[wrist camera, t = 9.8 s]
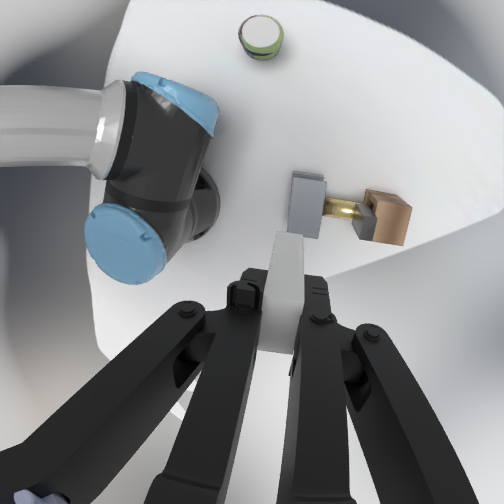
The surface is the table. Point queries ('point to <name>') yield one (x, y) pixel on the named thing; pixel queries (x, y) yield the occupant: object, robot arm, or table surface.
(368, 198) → the socket block
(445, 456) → the robot arm
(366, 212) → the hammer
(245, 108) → the table surface
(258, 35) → the beverage can
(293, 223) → the grey slotted clamp block
